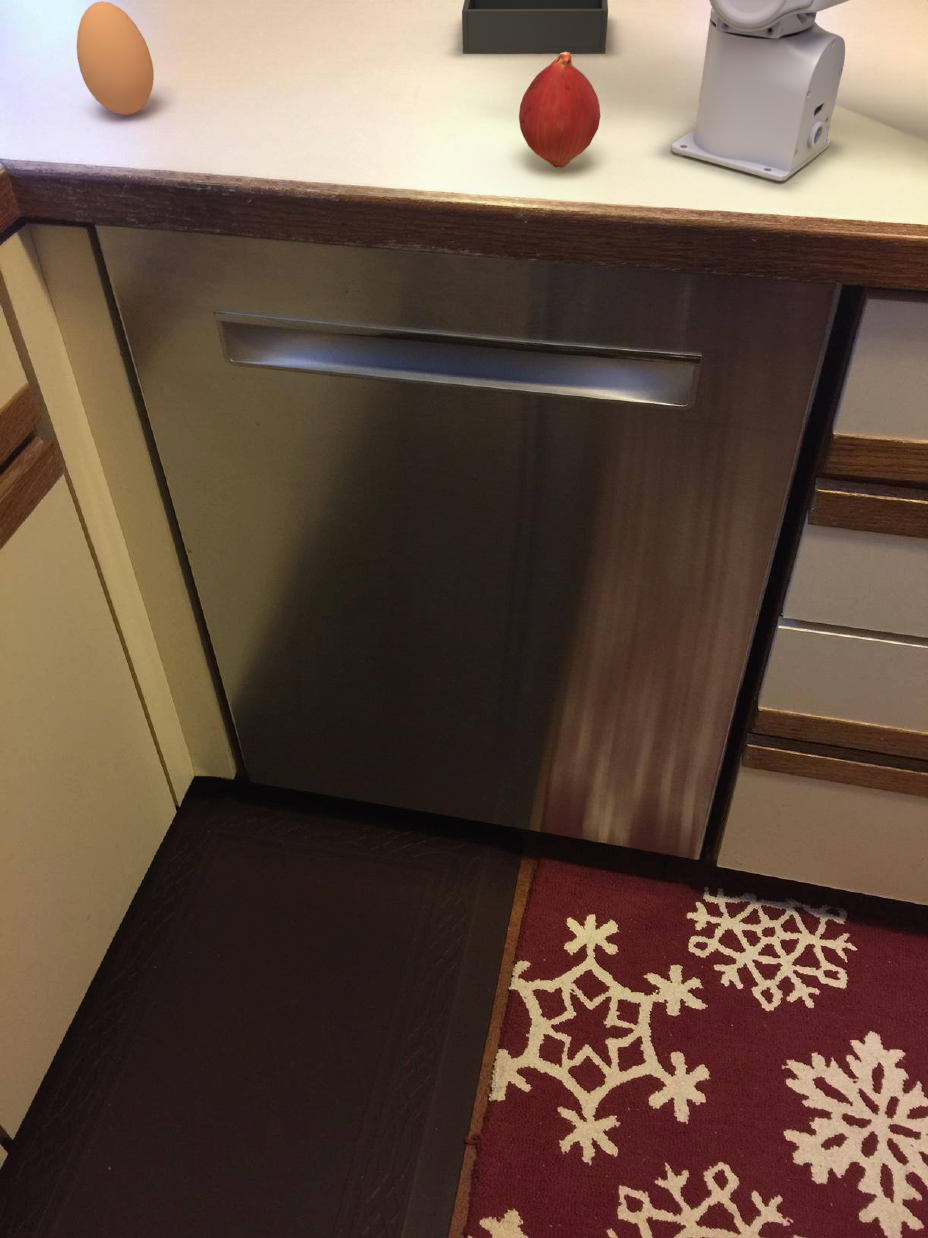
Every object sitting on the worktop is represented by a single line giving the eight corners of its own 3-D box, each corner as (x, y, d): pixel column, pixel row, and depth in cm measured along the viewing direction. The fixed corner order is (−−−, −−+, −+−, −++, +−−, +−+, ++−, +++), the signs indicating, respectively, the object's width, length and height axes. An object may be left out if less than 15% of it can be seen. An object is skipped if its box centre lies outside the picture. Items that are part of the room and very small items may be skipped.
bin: (603, 21, 99) (606, -20, 97) (605, 52, 93) (608, 10, 91) (469, 22, 100) (468, -19, 98) (462, 53, 94) (461, 10, 92)
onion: (510, 178, 76) (510, 62, 70) (529, 147, 80) (532, 34, 74) (587, 187, 75) (594, 69, 69) (603, 154, 79) (611, 40, 73)
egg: (83, 110, 87) (52, 0, 81) (147, 94, 89) (122, -15, 83) (107, 132, 84) (76, 18, 78) (173, 115, 86) (148, 3, 80)
